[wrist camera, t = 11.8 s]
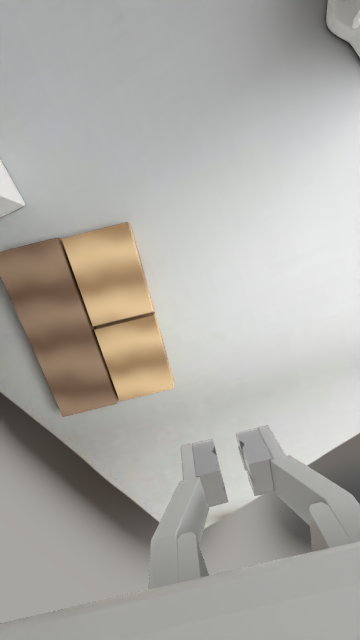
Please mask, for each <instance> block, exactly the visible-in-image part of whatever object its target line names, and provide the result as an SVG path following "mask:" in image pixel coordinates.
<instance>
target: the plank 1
mask: <svg viewBox="0 0 360 640" xmlns="http://www.w3.org/2000/svg"><path fill="white" fill-rule="evenodd" d="M62 242H63V244H64V247H65V250H66V253H67V256H68V258H69V261H70V264H71V267H72V270H73V272H74V275H75V278H76V281H77V283H78V286H79V289H80V292H81V295H82V297H83V300H84V303H85V306H86V309H87V311H88V314H89V317H90V320H91V323H92V325H93V326H96V325H100V324H104V323H109V322H113V321H117V320H121V319H125V318H129V317H133V316H137V315H141V314H145V313H149V312H153V309H154V307H153V304H152V300H151V297H150V293H149V289H148V286H147V282H146V279H145V275H144V272H143V268H142V264H141V261H140V257H139V254H138V250H137V246H136V243H135V239H134V236H133V232H132V228H131V225H130V224H129V223H128V222H126V223H122V224H118V225H114V226H110V227H106V228H102V229H98V230H94V231H90V232H86V233H83V234H79V235H75V236H71V237H67V238H63V239H62Z"/></svg>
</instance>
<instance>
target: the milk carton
mask: <svg viewBox="0 0 360 640" xmlns="http://www.w3.org/2000/svg"><path fill="white" fill-rule="evenodd" d="M23 206H25V203H24V201H23V199H22V197H21V196H20V194H19V192H18V190H17V188H16V187H15V185H14V183H13V181H12V179H11V178H10V176H9V174H8V172H7V170H6V169H5V167H4V165H3V163H2V162H1V160H0V217H2V216H5V215H7V214H9V213H11V212H13V211H15V210H17V209H19V208H21V207H23Z"/></svg>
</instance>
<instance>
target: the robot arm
mask: <svg viewBox="0 0 360 640" xmlns="http://www.w3.org/2000/svg"><path fill="white" fill-rule="evenodd" d="M326 22H327V26H328V28H329V29H330V31H331V32H333V33H334V34H335V35H337V36H338V37H340V38H342V39H344V40H346V41H347V42H349V43H350V44H351V45H352V47H353V48H354V49H355V51H356V53H357V54H358V56H359V57H360V0H328V4H327V15H326ZM236 437H237V441H238V444H239V452H240V455H241V459H242V462H243V465H244V468H245V470H246V471H247V474H248V479H249V482H250V485H251V487H252V490H253V493H254V496H257V495H262V494H267V493H272V492H275V494H276V495H277V496H279V497H280V498H281V499H282V500H283V501H284V502H285V503H286V504H287V505H288V506H289V507H290V508H291V509H292V510H293V511H295V512H296V513H297V514H298V515H299V516H300V517H301V518H302V519H303V520H304V521H305V522H306V523H307V524H309V526H310V528H311V540H312V552H310V553H305V554H301V555H297V556H292V557H288V558H283V559H279V560H275V561H270V562H266V563H262V564H257V565H253V566H249V567H244V568H240V569H236V570H231V571H227V572H222V573H218V574H214V575H209V573H208V571H207V568H206V565H205V562H204V559H203V556H202V553H201V550H200V547H199V543H200V539H201V536H202V533H203V529H204V526H205V522H206V518H207V515H208V511H209V507H212V506H216V505H220V504H223V503H227V502H228V499H227V495H226V491H225V487H224V482H223V478H222V474H221V470H220V466H219V462H218V458H217V454H216V450H215V446H214V442H213V439H209V440H205V441H200V442H195V443H191V444H187V445H182V446H181V458H182V471H183V481H180V482H179V484H178V486H177V488H176V490H175V492H174V494H173V497H172V499H171V501H170V503H169V505H168V507H167V509H166V511H165V513H164V515H163V517H162V519H161V521H160V523H159V525H158V527H157V529H156V531H155V533H154V535H153V538H152V540H151V553H150V571H149V589H148V590H144V591H140V592H135V593H131V594H127V595H122V596H118V597H114V598H110V599H105V600H101V601H97V602H92V603H88V604H84V605H79V606H74V607H70V608H66V609H61V610H57V611H53V612H48V613H44V614H39V615H36V616H31V617H26V618H23V619H18V620H13V621H9V622H4V623H0V640H360V505H359V503H358V502H357V501H356V500H355V498H354V497H353V496H352V494H350V493H349V492H347V491H346V490H344V489H342V488H341V487H339V486H338V485H336V484H335V483H333V482H331V481H330V480H328V479H327V478H325V477H324V476H322V475H320V474H319V473H317V472H315V471H314V470H312V469H311V468H309V467H308V466H306V465H305V464H303V463H301V462H300V461H298V460H297V459H295V458H293V457H292V456H290V455H289V456H286V454H285V453H284V451H283V449H282V447H281V446H280V444H279V442H278V441H277V439H276V437H275V436H274V434H273V432H272V430H271V429H270V427H269V426H268V425H266V426H262V427H258V428H254V429H250V430H246V431H242V432H238V433H236Z"/></svg>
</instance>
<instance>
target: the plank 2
mask: <svg viewBox="0 0 360 640" xmlns="http://www.w3.org/2000/svg"><path fill="white" fill-rule="evenodd" d="M94 331H95V334H96V336H97V339H98V342H99V345H100V348H101V350H102V353H103V356H104V359H105V362H106V364H107V367H108V370H109V373H110V375H111V378H112V381H113V384H114V387H115V389H116V392H117V395H118V398H119V401H123V400H128V399H132V398H136V397H140V396H144V395H148V394H153V393H157V392H161V391H165V390H169V389H173V388H174V380H173V376H172V372H171V369H170V365H169V362H168V358H167V354H166V351H165V347H164V344H163V340H162V336H161V333H160V329H159V326H158V322H157V318H156V315H155V312H153V313H148V314H144V315H140V316H136V317H132V318H128V319H124V320H120V321H116V322H112V323H108V324H104V325H100V326H98V327H97V328H96V329H95V330H94Z"/></svg>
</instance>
